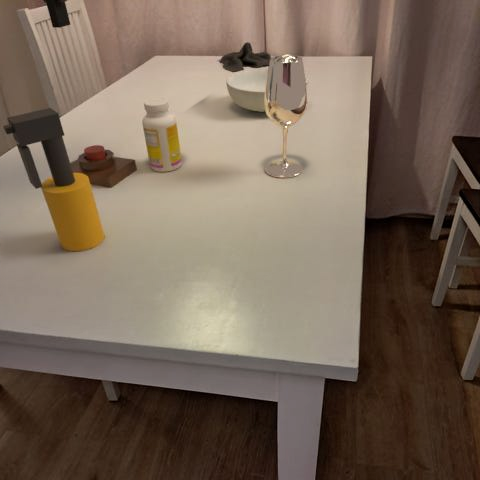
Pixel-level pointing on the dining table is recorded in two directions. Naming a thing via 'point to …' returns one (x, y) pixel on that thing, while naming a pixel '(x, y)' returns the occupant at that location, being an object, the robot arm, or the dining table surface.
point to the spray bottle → (61, 181)
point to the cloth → (244, 59)
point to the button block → (104, 169)
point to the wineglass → (285, 104)
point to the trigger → (29, 166)
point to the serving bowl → (249, 89)
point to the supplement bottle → (161, 136)
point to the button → (94, 152)
